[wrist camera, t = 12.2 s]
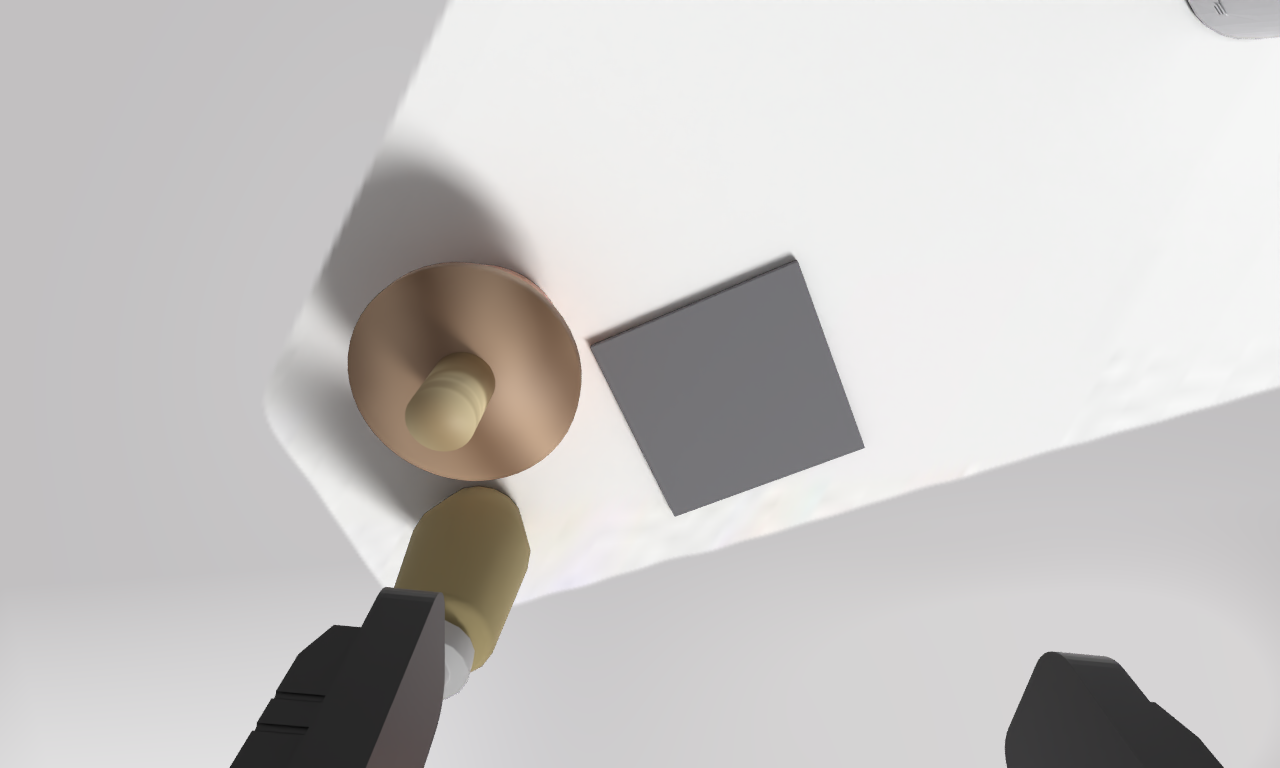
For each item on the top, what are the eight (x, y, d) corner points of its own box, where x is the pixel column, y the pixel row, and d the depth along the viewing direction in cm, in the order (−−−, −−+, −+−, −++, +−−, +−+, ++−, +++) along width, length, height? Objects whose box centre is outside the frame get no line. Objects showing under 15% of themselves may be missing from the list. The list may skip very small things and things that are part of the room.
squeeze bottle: (553, 494, 51) (507, 695, 34) (517, 578, 54) (458, 801, 37) (444, 455, 50) (342, 644, 33) (413, 543, 53) (305, 757, 36)
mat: (796, 259, 44) (797, 261, 43) (862, 444, 49) (864, 447, 48) (591, 345, 46) (590, 348, 46) (674, 512, 51) (674, 516, 51)
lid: (516, 223, 38) (492, 249, 32) (618, 424, 42) (613, 479, 37) (310, 317, 40) (254, 357, 34) (429, 499, 45) (397, 561, 39)
